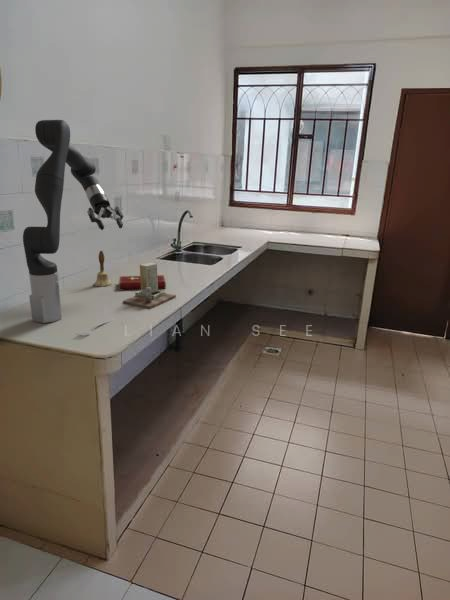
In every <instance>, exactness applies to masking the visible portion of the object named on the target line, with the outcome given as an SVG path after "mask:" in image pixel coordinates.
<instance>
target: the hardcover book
mask: <svg viewBox="0 0 450 600" xmlns="http://www.w3.org/2000/svg"><path fill="white" fill-rule="evenodd" d="M157 277H158V290H164V289H167V285H166V284H167V283H166V277H165V274H157ZM118 290H119V291H128V290H129V291H132V290H133V291H134V290H138V291H139V290H141V280H140V275H121V276H119V279H118Z"/></svg>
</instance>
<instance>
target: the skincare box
mask: <svg viewBox="0 0 450 600" xmlns="http://www.w3.org/2000/svg"><path fill="white" fill-rule="evenodd" d="M157 275H158V264H157V263H155V262H146V263H142V264H139V276H140V280H141V289H140V290H141V292H142V293H145V288H146V287H151V293H153V292H157V291H158V290H159V289H158V277H157Z"/></svg>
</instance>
